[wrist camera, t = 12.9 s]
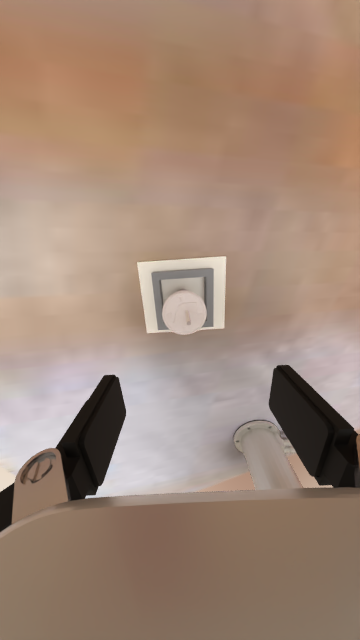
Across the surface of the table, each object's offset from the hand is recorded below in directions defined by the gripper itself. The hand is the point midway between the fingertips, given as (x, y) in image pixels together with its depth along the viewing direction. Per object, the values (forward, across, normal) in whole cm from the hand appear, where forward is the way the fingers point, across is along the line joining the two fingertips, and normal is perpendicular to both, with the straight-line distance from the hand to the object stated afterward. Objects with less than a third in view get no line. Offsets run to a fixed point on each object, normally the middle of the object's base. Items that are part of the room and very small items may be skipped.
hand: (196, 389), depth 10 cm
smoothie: (+24, 0, 0) cm, 24 cm away
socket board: (+25, 0, 0) cm, 25 cm away
